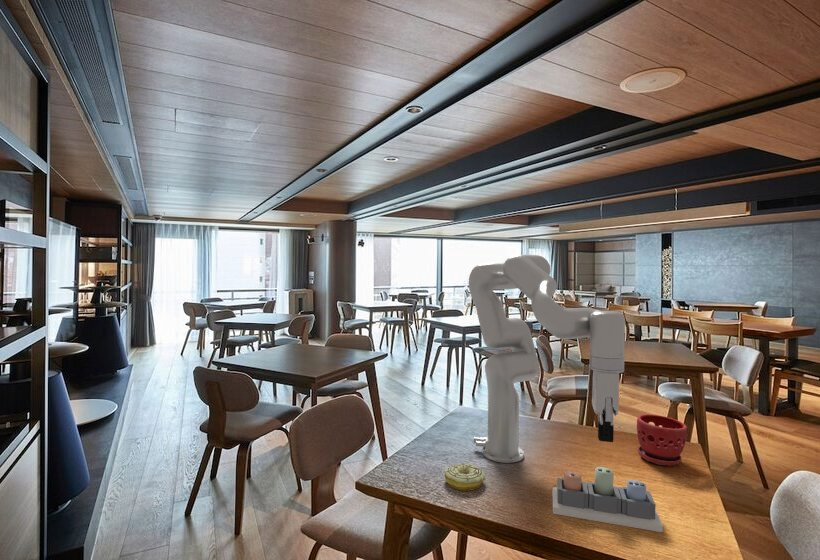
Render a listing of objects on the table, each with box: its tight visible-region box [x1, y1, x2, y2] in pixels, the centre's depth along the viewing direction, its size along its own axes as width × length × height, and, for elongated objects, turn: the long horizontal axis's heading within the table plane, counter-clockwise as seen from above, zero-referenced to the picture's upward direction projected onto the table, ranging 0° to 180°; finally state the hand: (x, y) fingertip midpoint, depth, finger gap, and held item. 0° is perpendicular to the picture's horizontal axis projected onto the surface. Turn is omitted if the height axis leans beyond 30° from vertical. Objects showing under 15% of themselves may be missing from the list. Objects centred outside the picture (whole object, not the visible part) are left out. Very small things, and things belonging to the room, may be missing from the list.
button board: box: [552, 477, 664, 533], centre depth 103 cm, size 23×10×5 cm, turn 72°
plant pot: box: [636, 414, 688, 466], centre depth 131 cm, size 13×13×12 cm
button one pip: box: [563, 470, 582, 492], centre depth 105 cm, size 4×4×5 cm
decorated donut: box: [444, 462, 486, 492], centre depth 116 cm, size 10×11×4 cm
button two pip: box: [594, 466, 614, 496], centre depth 103 cm, size 4×4×5 cm
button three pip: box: [626, 479, 647, 502], centre depth 101 cm, size 4×4×5 cm
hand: (605, 440), depth 102 cm, fingers closed
